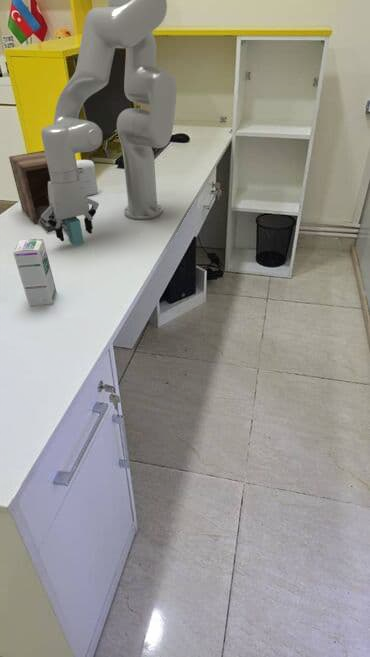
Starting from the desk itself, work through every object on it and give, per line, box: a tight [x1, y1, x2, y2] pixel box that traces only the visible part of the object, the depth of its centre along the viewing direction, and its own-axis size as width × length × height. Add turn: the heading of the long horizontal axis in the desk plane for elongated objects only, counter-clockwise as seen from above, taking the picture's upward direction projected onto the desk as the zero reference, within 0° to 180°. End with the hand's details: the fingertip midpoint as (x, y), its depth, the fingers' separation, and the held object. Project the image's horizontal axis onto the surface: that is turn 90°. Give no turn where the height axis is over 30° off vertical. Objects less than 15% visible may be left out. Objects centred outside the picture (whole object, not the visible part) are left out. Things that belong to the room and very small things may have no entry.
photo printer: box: [76, 159, 99, 197], centre depth 160 cm, size 10×4×12 cm, turn 123°
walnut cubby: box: [8, 150, 51, 226], centre depth 146 cm, size 14×13×18 cm
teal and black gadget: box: [38, 214, 85, 246], centre depth 136 cm, size 21×10×7 cm, turn 32°
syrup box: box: [12, 238, 57, 306], centre depth 104 cm, size 6×6×14 cm
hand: (75, 235), depth 131 cm, fingers open, 8 cm apart
